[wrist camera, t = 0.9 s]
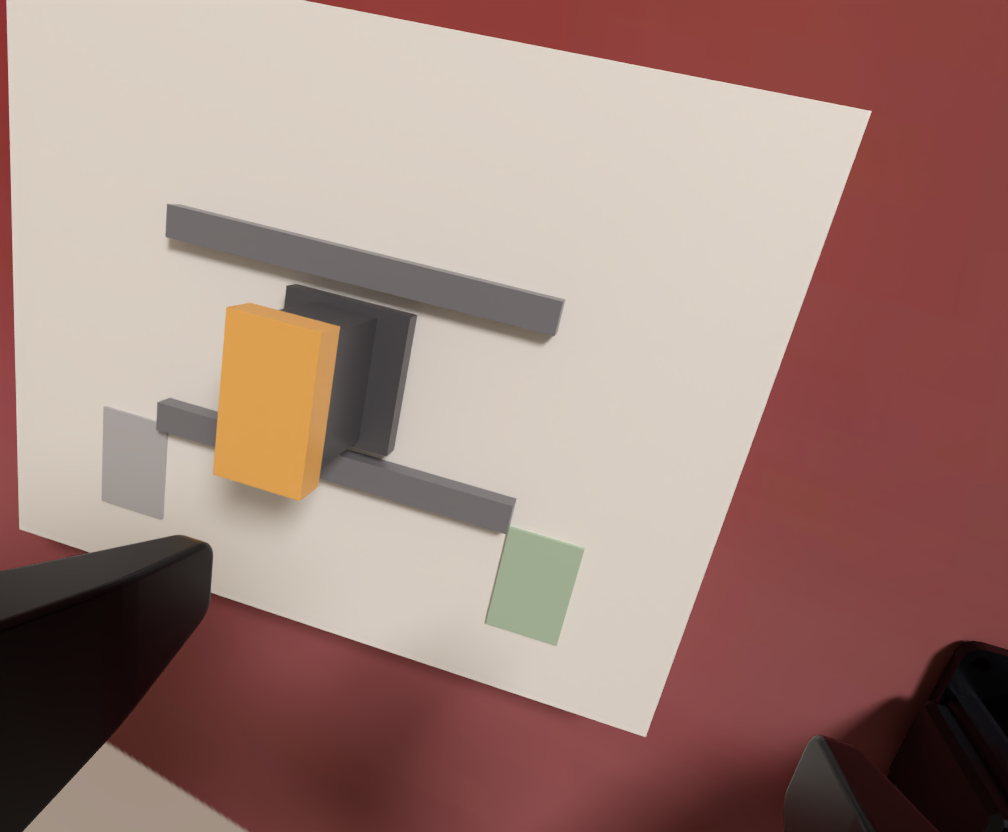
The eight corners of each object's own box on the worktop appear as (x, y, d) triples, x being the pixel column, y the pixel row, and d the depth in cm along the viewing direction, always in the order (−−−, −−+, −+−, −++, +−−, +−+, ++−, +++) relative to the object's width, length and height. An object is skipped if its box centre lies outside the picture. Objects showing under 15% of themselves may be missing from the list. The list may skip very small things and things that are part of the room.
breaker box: (831, 132, 16) (879, 106, 12) (645, 667, 21) (645, 751, 17) (103, -14, 18) (-15, -67, 15) (95, 492, 23) (5, 536, 20)
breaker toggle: (417, 315, 16) (350, 340, 12) (393, 449, 17) (326, 509, 13) (297, 283, 16) (198, 299, 13) (282, 417, 17) (187, 467, 14)
